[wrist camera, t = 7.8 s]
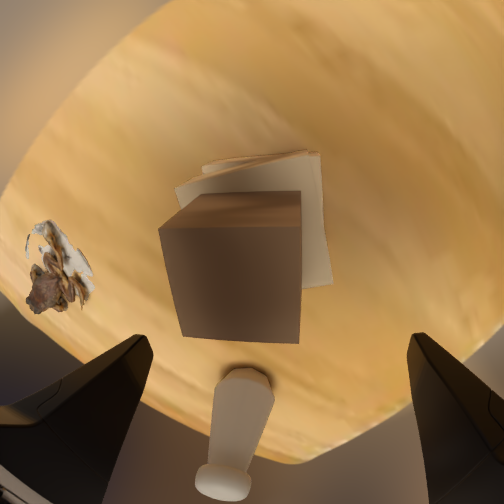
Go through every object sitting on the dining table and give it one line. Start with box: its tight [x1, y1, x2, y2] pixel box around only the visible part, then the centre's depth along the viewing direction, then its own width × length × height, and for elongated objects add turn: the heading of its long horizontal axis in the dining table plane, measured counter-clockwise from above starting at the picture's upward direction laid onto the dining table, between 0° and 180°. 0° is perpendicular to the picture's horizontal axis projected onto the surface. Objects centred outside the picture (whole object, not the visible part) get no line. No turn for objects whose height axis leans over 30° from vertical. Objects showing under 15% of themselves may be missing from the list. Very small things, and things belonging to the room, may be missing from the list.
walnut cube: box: [158, 191, 302, 344], centre depth 13 cm, size 5×5×5 cm
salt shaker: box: [195, 368, 275, 501], centre depth 22 cm, size 6×6×13 cm
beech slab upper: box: [174, 149, 334, 289], centre depth 17 cm, size 7×7×3 cm
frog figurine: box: [25, 220, 95, 314], centre depth 26 cm, size 12×12×4 cm
